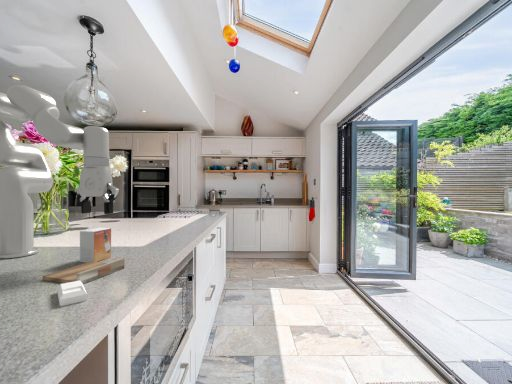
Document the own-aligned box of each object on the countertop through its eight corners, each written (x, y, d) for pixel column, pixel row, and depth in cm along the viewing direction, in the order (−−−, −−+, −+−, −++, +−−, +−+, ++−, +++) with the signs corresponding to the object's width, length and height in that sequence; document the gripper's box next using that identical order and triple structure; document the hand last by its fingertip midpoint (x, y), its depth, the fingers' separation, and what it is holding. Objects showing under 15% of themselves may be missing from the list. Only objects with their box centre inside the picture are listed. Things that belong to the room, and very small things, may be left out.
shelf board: (42, 279, 70) (42, 268, 70) (91, 264, 85) (91, 254, 85) (80, 285, 67) (80, 274, 67) (124, 268, 81) (125, 258, 81)
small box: (93, 263, 85) (93, 231, 85) (79, 262, 87) (79, 230, 86) (111, 257, 93) (111, 227, 93) (98, 256, 94) (98, 227, 94)
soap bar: (81, 289, 66) (81, 278, 65) (87, 301, 59) (87, 290, 59) (57, 294, 62) (57, 283, 62) (60, 308, 55) (60, 295, 55)
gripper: (66, 163, 88) (67, 213, 88) (108, 161, 83) (108, 215, 84) (86, 165, 95) (87, 211, 95) (125, 163, 90) (126, 213, 91)
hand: (97, 213), depth 90 cm, fingers open, 9 cm apart
